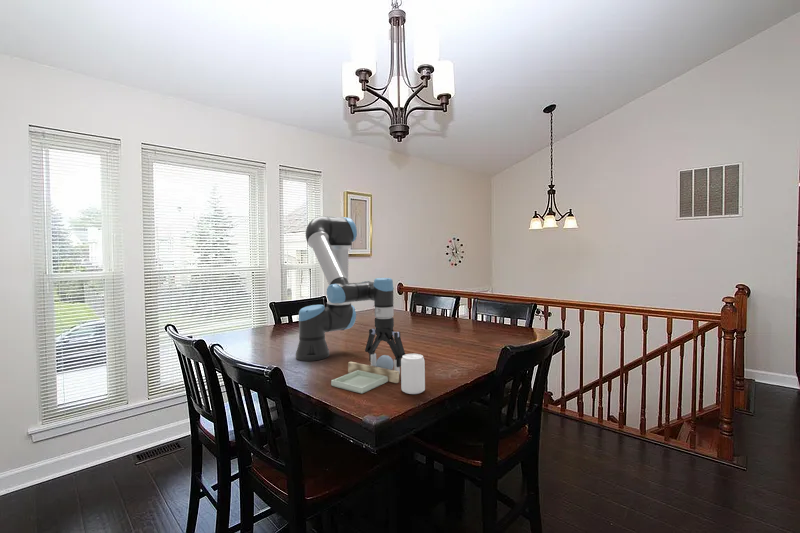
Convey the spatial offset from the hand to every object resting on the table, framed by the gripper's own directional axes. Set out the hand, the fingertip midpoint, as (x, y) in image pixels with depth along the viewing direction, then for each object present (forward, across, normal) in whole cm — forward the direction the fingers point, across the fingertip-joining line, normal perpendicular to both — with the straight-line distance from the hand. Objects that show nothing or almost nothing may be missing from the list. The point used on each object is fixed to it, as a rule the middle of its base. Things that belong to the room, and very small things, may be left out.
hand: (385, 372), depth 153 cm
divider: (0, -1, -6) cm, 7 cm away
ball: (0, 0, 0) cm, 0 cm away
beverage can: (+1, +20, -10) cm, 23 cm away
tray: (0, 0, -15) cm, 15 cm away
